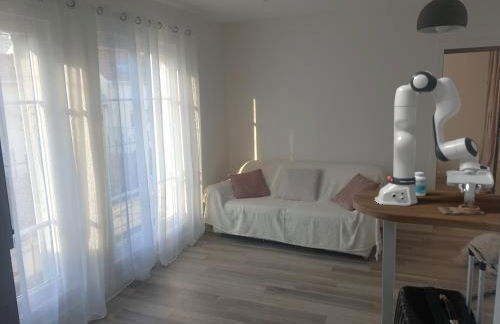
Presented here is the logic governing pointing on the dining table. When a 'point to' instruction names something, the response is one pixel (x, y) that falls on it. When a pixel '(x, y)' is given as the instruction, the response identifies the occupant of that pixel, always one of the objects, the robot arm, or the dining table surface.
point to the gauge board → (456, 212)
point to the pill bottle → (420, 184)
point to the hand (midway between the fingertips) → (469, 193)
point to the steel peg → (469, 194)
